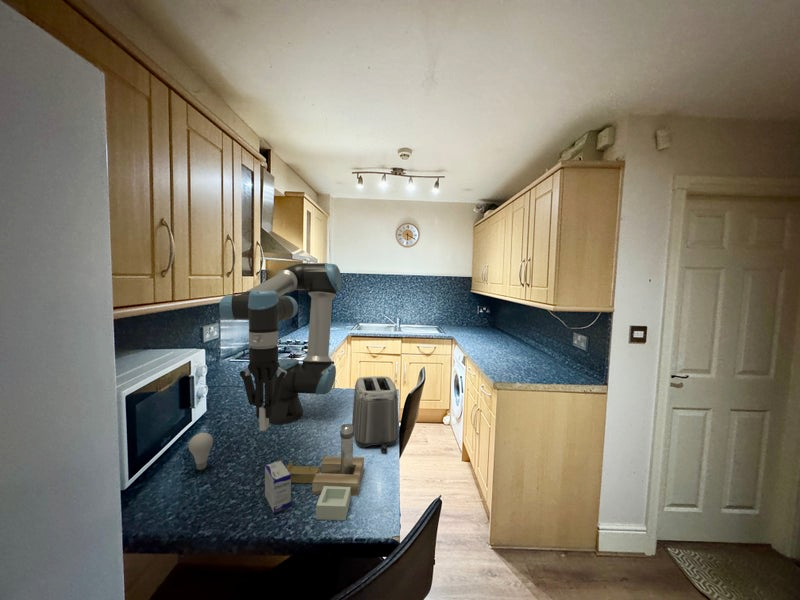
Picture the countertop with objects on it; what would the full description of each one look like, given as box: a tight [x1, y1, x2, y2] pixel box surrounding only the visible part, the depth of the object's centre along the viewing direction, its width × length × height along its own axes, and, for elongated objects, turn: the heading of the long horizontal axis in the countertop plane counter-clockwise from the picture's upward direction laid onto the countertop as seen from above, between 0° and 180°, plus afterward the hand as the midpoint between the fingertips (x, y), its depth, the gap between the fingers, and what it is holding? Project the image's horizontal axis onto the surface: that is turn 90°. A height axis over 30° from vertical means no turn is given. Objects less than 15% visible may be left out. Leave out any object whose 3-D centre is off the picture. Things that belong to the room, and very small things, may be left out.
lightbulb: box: [188, 432, 214, 471], centre depth 93 cm, size 6×6×11 cm
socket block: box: [311, 455, 365, 497], centre depth 89 cm, size 12×12×4 cm
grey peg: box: [339, 423, 354, 474], centre depth 89 cm, size 4×4×16 cm
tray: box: [315, 486, 352, 521], centre depth 78 cm, size 7×7×4 cm
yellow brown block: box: [285, 462, 321, 484], centre depth 89 cm, size 5×9×3 cm, turn 89°
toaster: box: [351, 375, 400, 454], centre depth 116 cm, size 17×30×19 cm, turn 9°
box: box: [264, 460, 292, 514], centre depth 80 cm, size 8×4×9 cm, turn 38°
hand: (264, 428), depth 88 cm, fingers closed
